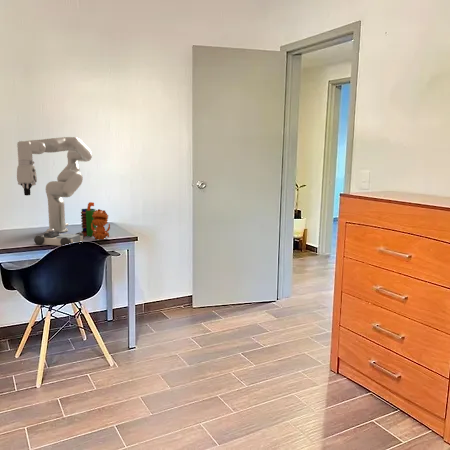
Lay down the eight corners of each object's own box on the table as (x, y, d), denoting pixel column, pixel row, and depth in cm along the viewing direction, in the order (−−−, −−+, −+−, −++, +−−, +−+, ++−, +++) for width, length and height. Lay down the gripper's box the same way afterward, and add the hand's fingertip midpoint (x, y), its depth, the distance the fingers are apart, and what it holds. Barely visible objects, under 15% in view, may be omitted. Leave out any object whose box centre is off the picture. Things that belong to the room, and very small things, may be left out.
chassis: (50, 238, 260) (50, 230, 259) (85, 241, 256) (84, 232, 255) (33, 244, 245) (33, 235, 244) (69, 247, 240) (69, 238, 239)
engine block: (51, 238, 255) (50, 227, 254) (59, 239, 254) (58, 228, 253) (43, 241, 248) (43, 230, 247) (52, 242, 247) (51, 230, 246)
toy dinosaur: (88, 240, 258) (87, 209, 255) (94, 236, 269) (93, 207, 266) (107, 240, 258) (106, 210, 255) (112, 237, 268) (111, 207, 265)
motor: (77, 234, 274) (76, 202, 270) (91, 232, 280) (90, 201, 277) (86, 237, 267) (85, 204, 263) (99, 235, 273) (98, 202, 270)
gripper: (41, 163, 256) (42, 195, 260) (18, 162, 259) (20, 194, 263) (33, 163, 249) (34, 196, 252) (9, 163, 252) (11, 195, 255)
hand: (27, 195), depth 257 cm, fingers closed
